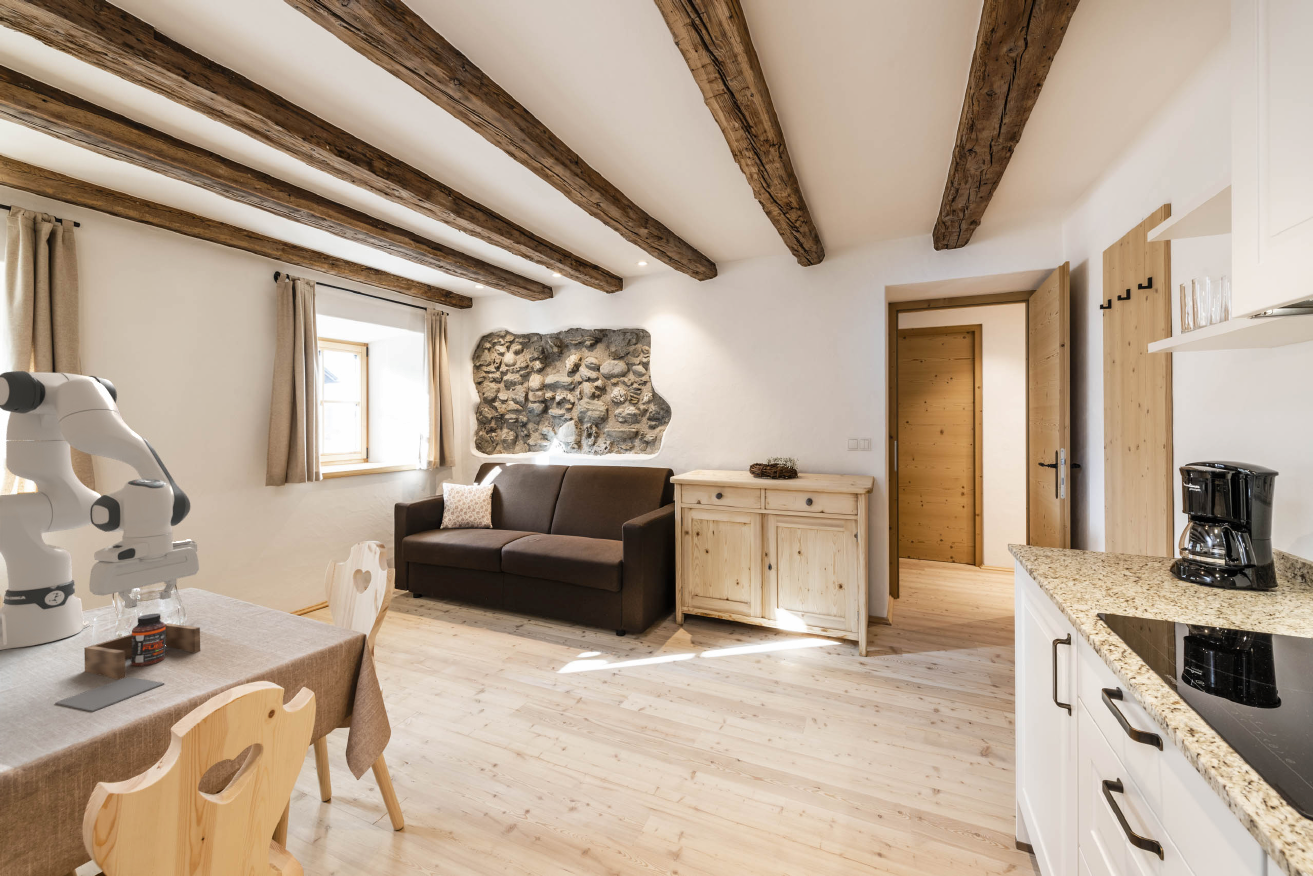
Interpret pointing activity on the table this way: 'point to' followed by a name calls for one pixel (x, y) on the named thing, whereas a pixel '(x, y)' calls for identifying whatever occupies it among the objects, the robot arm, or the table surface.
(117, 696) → the mat
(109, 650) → the holder
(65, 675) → the table surface
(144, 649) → the supplement bottle
